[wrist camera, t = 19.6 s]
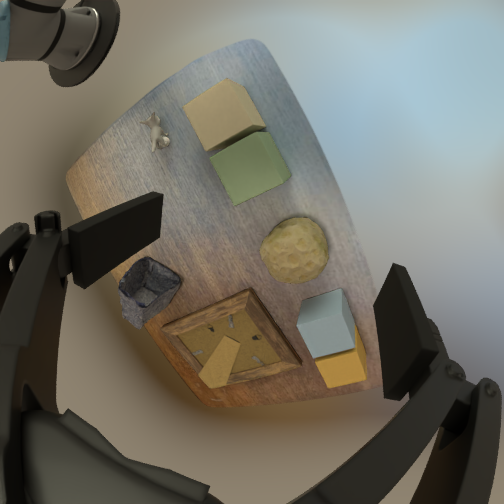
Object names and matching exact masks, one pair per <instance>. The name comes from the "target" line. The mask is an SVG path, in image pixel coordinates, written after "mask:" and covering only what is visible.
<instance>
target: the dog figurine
mask: <svg viewBox="0 0 504 504" xmlns="http://www.w3.org/2000/svg"><path fill="white" fill-rule="evenodd" d="M139 123H142V124H145V125H148V126H149V127H150V128H151V133H150V139H151V142H152V148H151V149H152V153H153V152H154V151H155V149H156V147H157V148H158V149H162V148H163V147H166V146H168V145H169V143H170V140H169V138H167V137H164V136H168V133H166V134H165V133H164V131H163V130H162V129H161V128H160V126H159V125H160V119H159V118H158V116H155V113H153V114H152V116H151V117H149V118H148V119H147V120H146V121H141V122H139ZM161 135H164V136H161ZM158 142H159V143H160V146H159V143H158Z"/></svg>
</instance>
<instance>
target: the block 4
mask: <svg viewBox="0 0 504 504" xmlns="http://www.w3.org/2000/svg"><path fill="white" fill-rule="evenodd" d="M315 363H316V365H317V367H318V369H319V371H320V373H321V375H322V377H323V379H324V381H325V383H326V385H327V387H328V388H332V387H337V386H342V385H346V384H351V383H355V382H359V381H363V380H367V368H366V352H365V349H364V346H363V343H362V341H361V338H360V335H359V332H358V330H357V327H356V325H355V348H352V349H348V350H344V351H341V352H337V353H333V354H329V355H325V356H321V357H316V360H315Z"/></svg>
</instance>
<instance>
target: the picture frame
mask: <svg viewBox="0 0 504 504" xmlns="http://www.w3.org/2000/svg"><path fill="white" fill-rule="evenodd" d="M160 330H161V331H162V332H163V333H164V335H165V336H166V337H167V338H168V340H169V341H170V342H171V343H172V345H173V346H174V347H175V348H176V349H177V351H178V352H179V353H180V354H181V355H182V356H183V358H184V359H185V360H186V361H187V362H188V363H189V365H190V366H191V367H192V368H193V369H194V370H195V371H196V372H197V374H198V376H199V377H200V378H201V379H202V380H203V381H204V383H205V384H206V385H207V386H208V387H209V388H210V389H211V388H217V387H222V386H226V385H229V384H234V383H239V382H243V381H248V380H252V379H257V378H261V377H265V376H269V375H273V374H277V373H281V372H284V371H288V370H292V369H295V368H299V367H301V366H302V361H301V359H300V358H299V356H298V355H297V354H296V352H295V351H294V349H293V348H292V346H291V345H290V344H289V342H288V341H287V339H286V338H285V336H284V335H283V333H282V332H281V331H280V329H279V328H278V326H277V325H276V323H275V322H274V320H273V319H272V317H271V316H270V315H269V313H268V312H267V310H266V309H265V307H264V306H263V304H262V303H261V301H260V300H259V298H258V297H257V296H256V294H255V293H254V291H253V290H252V288H248V289H246V290H244V291H242V292H239V293H237V294H235V295H233V296H231V297H228V298H226V299H224V300H222V301H219V302H217V303H215V304H212V305H210V306H208V307H206V308H203V309H201V310H199V311H196V312H194V313H192V314H189V315H187V316H185V317H182V318H180V319H178V320H175V321H173V322H171V323H168V324H166V325H163V326H162V328H161V329H160Z"/></svg>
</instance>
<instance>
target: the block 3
mask: <svg viewBox="0 0 504 504" xmlns="http://www.w3.org/2000/svg"><path fill="white" fill-rule="evenodd" d="M296 326H297V328H298V330H299V332H300V334H301V336H302V338H303V340H304V341H305V343H306V345H307V347H308V349H309V351H310V353H311V355H312V357H313V358H316V357H321V356H325V355H329V354H333V353H337V352H341V351H344V350H348V349H352V348H355V324H354V319H353V316H352V313H351V311H350V308H349V305H348V303H347V300H346V298H345V295H344V293H343V290H342V288H340V289H337V290H334V291H331V292H328V293H325V294H322V295H319V296H315V297H312V298H309V299H306V300H303V301H302V304H301V308H300V313H299V317H298V321H297V325H296Z"/></svg>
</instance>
